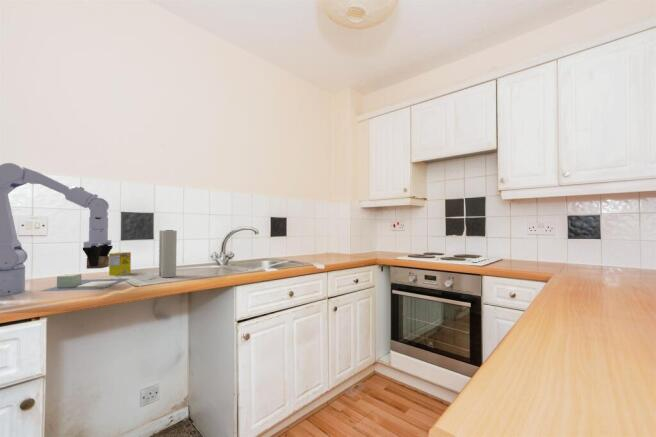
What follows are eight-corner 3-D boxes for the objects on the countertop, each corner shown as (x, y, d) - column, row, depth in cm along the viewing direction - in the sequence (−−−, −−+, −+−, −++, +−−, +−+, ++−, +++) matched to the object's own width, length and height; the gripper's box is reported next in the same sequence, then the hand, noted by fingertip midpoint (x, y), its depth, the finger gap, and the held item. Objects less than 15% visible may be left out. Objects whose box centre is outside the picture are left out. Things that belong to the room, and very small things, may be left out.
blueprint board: (101, 292, 106) (102, 287, 106) (40, 294, 102) (40, 289, 102) (130, 280, 126) (130, 277, 126) (79, 282, 123) (79, 278, 123)
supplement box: (130, 275, 140) (131, 252, 140) (120, 277, 134) (121, 253, 134) (119, 275, 141) (119, 252, 141) (108, 277, 135) (109, 253, 135)
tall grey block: (177, 276, 137) (178, 230, 137) (163, 278, 133) (163, 230, 133) (173, 274, 142) (173, 229, 142) (158, 276, 138) (159, 230, 138)
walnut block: (101, 268, 112) (101, 257, 112) (86, 268, 111) (86, 257, 111) (108, 266, 116) (109, 256, 117) (94, 266, 116) (94, 256, 116)
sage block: (72, 287, 109) (72, 276, 109) (56, 287, 108) (57, 276, 108) (81, 284, 114) (81, 273, 114) (66, 284, 113) (66, 274, 113)
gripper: (99, 229, 107) (98, 267, 107) (119, 229, 122) (119, 262, 121) (77, 229, 106) (76, 268, 106) (100, 229, 120) (99, 262, 120)
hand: (97, 265), depth 114 cm, fingers closed on walnut block, 5 cm apart
